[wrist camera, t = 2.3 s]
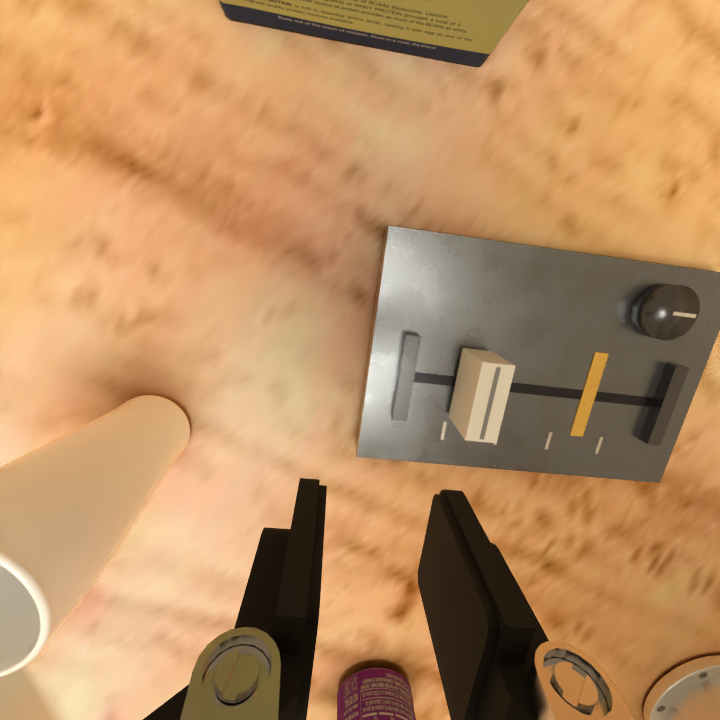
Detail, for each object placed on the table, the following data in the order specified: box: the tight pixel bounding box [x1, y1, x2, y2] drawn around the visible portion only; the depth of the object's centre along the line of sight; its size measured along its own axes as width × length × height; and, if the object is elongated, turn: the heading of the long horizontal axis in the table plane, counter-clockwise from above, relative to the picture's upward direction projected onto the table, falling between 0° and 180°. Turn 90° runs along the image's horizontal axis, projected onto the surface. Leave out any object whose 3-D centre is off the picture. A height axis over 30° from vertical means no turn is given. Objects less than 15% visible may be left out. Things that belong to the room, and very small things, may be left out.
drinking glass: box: [0, 395, 190, 677], centre depth 20 cm, size 7×7×15 cm
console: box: [356, 226, 720, 483], centre depth 26 cm, size 24×16×3 cm, turn 83°
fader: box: [449, 348, 516, 443], centre depth 23 cm, size 2×5×4 cm, turn 173°
